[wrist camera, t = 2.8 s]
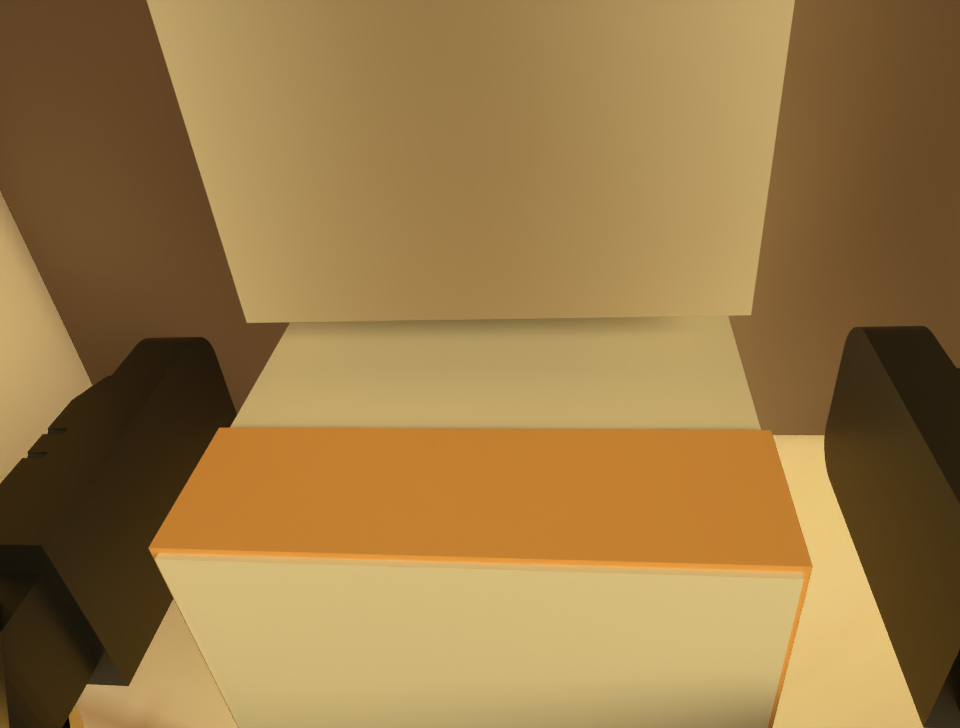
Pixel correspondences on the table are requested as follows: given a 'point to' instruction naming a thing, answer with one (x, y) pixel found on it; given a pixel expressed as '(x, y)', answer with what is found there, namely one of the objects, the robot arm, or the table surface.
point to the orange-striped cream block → (493, 530)
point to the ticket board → (489, 170)
